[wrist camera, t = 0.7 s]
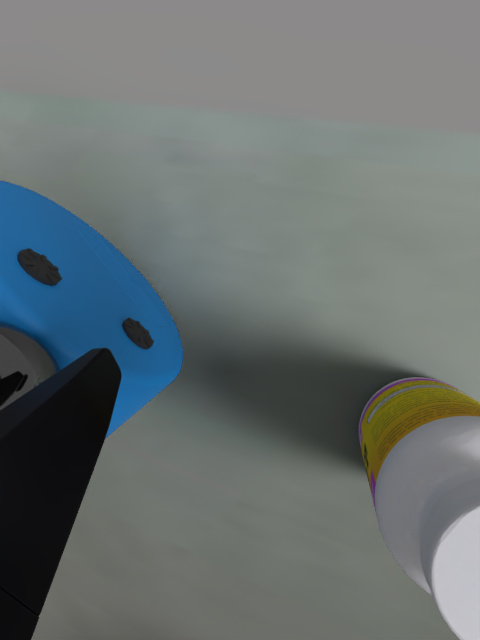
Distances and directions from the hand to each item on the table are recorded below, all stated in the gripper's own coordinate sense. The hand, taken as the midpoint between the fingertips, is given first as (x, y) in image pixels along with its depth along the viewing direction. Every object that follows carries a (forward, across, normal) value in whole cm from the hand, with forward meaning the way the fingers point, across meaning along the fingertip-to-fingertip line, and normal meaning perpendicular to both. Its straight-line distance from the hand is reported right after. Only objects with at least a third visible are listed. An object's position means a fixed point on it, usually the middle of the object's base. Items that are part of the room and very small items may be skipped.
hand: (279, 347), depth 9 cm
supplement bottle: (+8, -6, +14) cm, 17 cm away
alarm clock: (+13, +12, +7) cm, 20 cm away
